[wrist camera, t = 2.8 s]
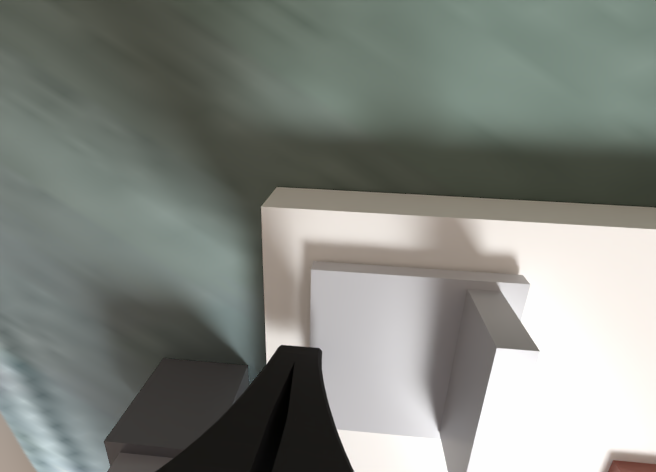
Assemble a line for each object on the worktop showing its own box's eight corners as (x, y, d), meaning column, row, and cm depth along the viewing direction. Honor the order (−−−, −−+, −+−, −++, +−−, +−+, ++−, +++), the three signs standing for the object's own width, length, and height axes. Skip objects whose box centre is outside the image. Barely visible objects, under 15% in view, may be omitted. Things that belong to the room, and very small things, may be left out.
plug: (251, 428, 19) (211, 554, 14) (174, 421, 20) (107, 542, 14) (248, 364, 18) (202, 479, 13) (163, 357, 18) (85, 467, 13)
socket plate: (645, 460, 18) (698, 530, 15) (280, 425, 19) (267, 485, 16) (766, 213, 13) (873, 248, 10) (276, 186, 14) (256, 212, 12)
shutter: (483, 429, 15) (517, 525, 11) (310, 414, 15) (296, 502, 12) (522, 274, 12) (579, 343, 9) (313, 260, 13) (296, 322, 9)
